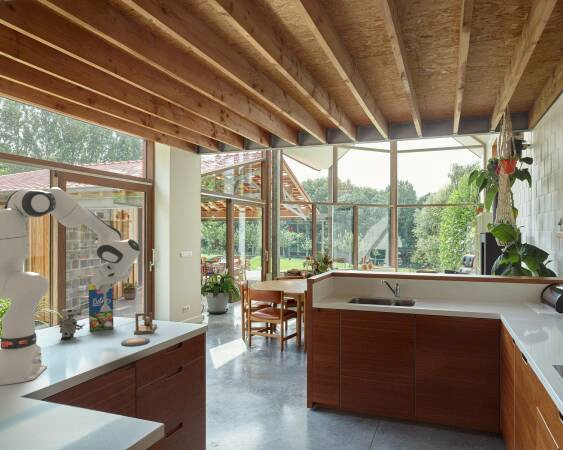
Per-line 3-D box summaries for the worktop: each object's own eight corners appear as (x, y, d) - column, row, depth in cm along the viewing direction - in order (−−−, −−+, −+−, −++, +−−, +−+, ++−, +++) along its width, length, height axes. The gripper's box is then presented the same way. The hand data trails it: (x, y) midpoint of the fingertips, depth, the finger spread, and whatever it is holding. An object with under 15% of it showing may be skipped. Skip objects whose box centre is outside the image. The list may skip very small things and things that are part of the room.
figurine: (82, 338, 219) (82, 309, 219) (57, 340, 216) (57, 310, 216) (85, 334, 228) (85, 306, 228) (61, 336, 225) (61, 307, 225)
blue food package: (89, 329, 239) (88, 284, 239) (112, 326, 245) (111, 282, 245) (89, 331, 234) (88, 285, 234) (113, 329, 239) (112, 283, 239)
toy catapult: (140, 327, 241) (139, 309, 241) (156, 326, 242) (156, 308, 242) (134, 334, 225) (133, 315, 225) (151, 333, 226) (151, 314, 226)
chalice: (107, 312, 206) (106, 274, 206) (94, 312, 207) (93, 274, 207) (116, 309, 213) (114, 272, 213) (103, 309, 214) (102, 272, 214)
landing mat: (151, 344, 205) (150, 342, 205) (121, 347, 200) (121, 345, 200) (148, 337, 217) (148, 336, 217) (120, 341, 212) (120, 339, 212)
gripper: (130, 261, 216) (117, 280, 220) (96, 265, 198) (82, 285, 202) (137, 270, 214) (123, 289, 218) (104, 275, 196) (89, 295, 200)
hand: (103, 287), depth 210 cm, fingers closed on chalice, 6 cm apart
